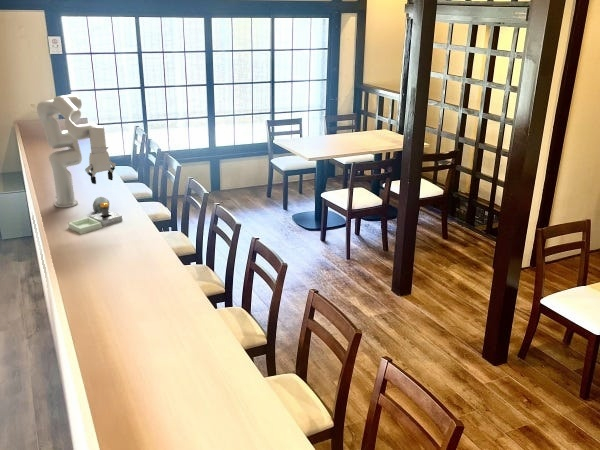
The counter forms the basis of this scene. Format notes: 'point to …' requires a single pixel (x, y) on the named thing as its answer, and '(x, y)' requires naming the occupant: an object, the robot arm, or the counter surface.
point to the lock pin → (105, 209)
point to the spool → (97, 204)
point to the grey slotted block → (107, 218)
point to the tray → (84, 225)
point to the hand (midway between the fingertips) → (102, 181)
